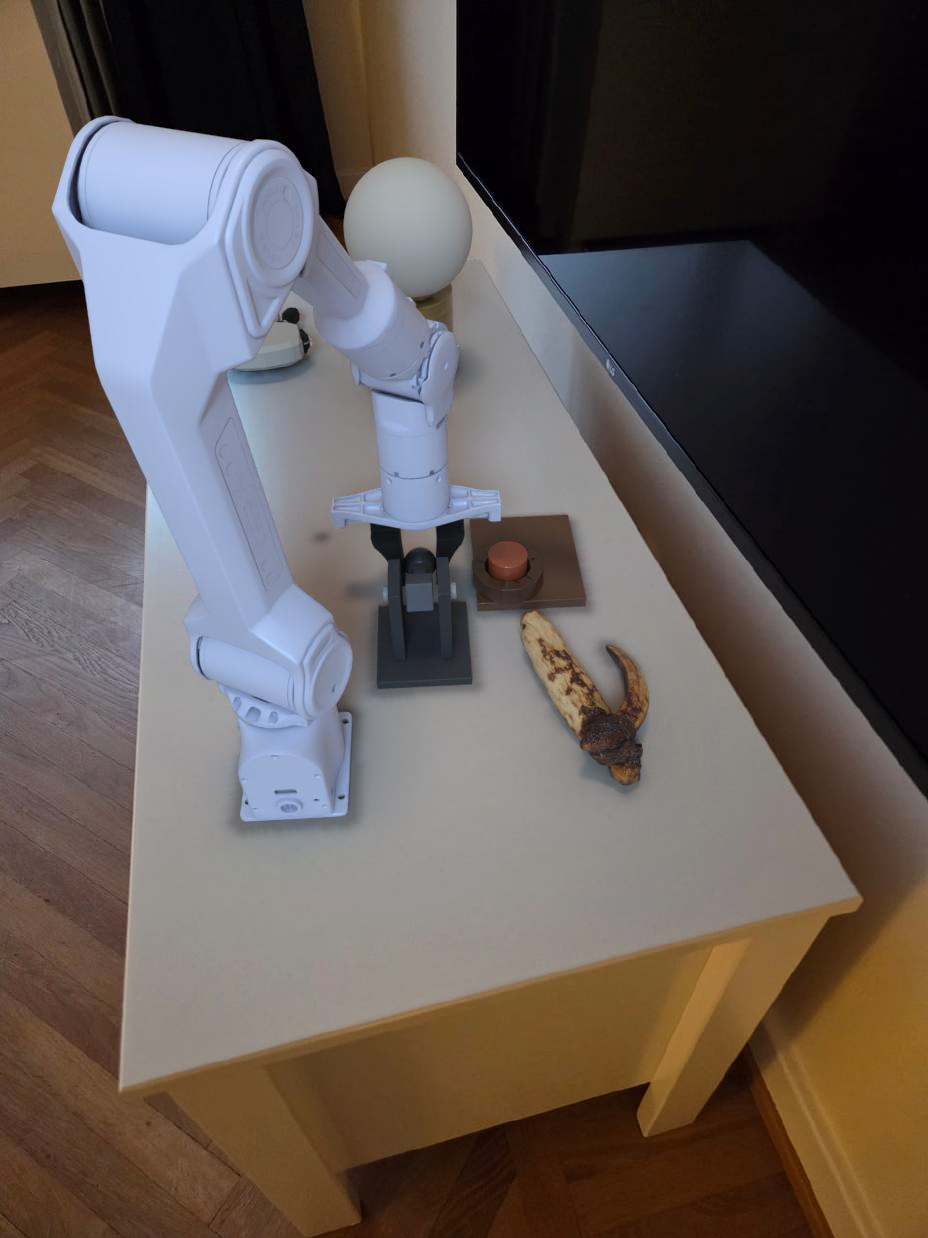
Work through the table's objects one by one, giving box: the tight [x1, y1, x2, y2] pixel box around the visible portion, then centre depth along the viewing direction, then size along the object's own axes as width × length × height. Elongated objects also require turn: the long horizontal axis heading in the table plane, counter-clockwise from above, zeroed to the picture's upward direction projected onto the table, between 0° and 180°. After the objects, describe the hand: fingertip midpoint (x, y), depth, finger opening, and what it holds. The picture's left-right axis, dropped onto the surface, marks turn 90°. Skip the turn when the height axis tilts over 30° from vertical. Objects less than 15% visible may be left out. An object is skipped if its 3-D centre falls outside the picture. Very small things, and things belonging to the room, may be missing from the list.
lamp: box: [343, 156, 474, 334], centre depth 96 cm, size 15×14×25 cm
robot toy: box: [231, 306, 314, 372], centre depth 108 cm, size 12×4×15 cm
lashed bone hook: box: [520, 610, 650, 786], centre depth 68 cm, size 9×5×18 cm
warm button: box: [488, 541, 528, 581], centre depth 76 cm, size 4×4×2 cm
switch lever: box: [404, 546, 437, 612], centre depth 73 cm, size 11×3×3 cm, turn 3°
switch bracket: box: [376, 557, 473, 690], centre depth 71 cm, size 9×8×9 cm
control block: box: [468, 514, 587, 612], centre depth 80 cm, size 12×10×3 cm
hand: (421, 578), depth 78 cm, fingers closed on switch lever, 3 cm apart
